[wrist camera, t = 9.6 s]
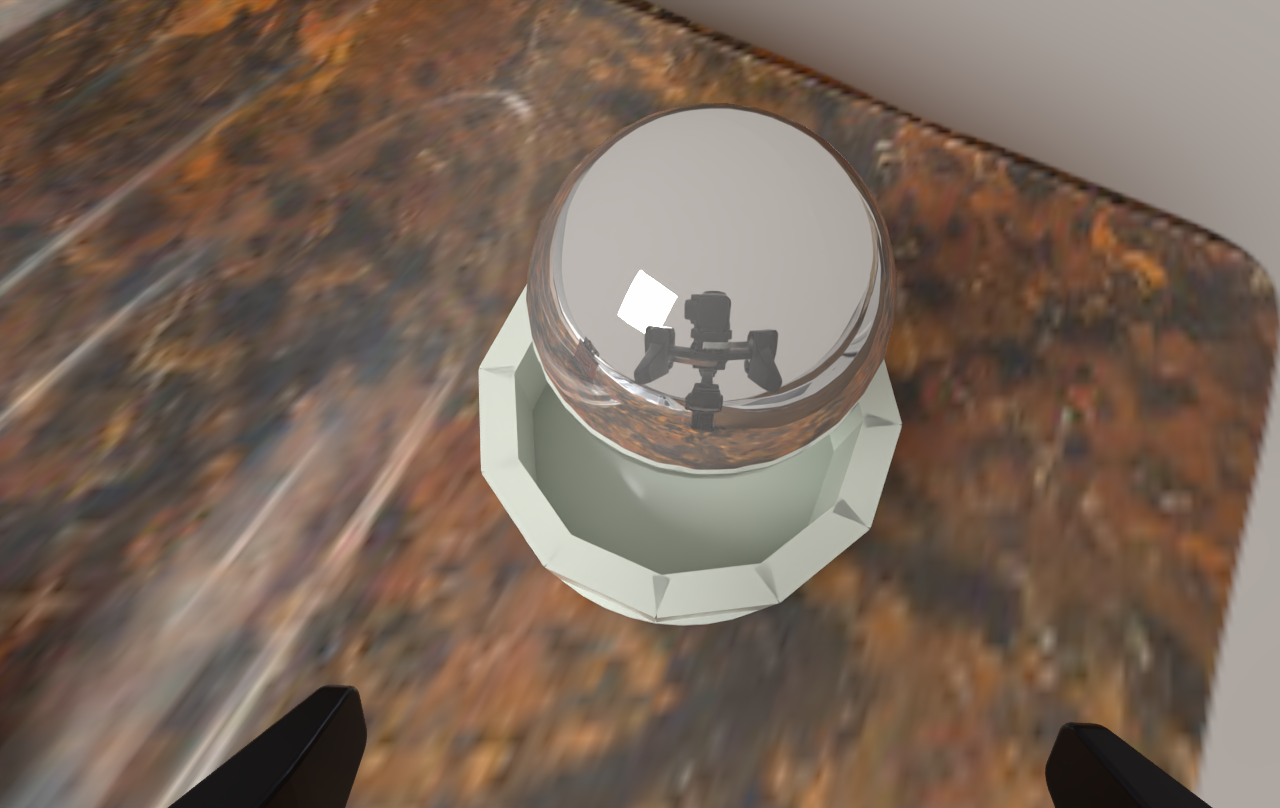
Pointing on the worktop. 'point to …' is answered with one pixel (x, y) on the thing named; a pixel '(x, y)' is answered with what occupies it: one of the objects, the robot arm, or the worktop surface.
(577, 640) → the worktop surface
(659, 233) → the light bulb
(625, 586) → the bulb holder
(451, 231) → the worktop surface
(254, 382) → the worktop surface
